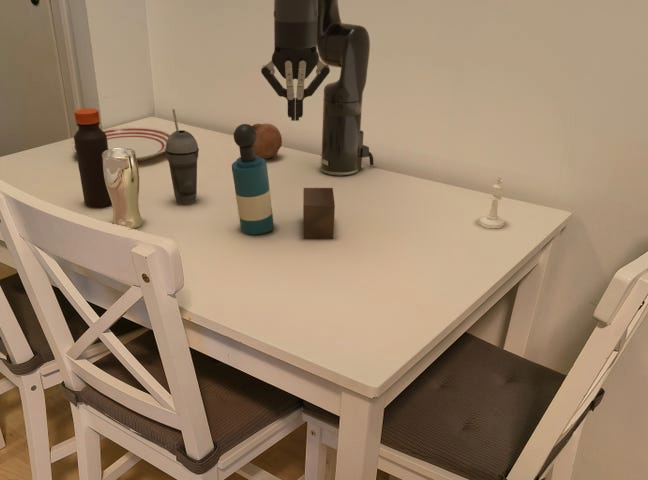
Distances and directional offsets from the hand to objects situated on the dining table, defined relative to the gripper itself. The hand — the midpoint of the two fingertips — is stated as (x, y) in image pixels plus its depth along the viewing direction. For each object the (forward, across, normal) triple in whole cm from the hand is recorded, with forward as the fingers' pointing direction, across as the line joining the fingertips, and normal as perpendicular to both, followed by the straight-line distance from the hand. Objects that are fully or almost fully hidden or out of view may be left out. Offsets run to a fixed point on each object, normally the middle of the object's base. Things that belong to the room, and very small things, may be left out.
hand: (295, 119), depth 129 cm
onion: (+22, +8, -48) cm, 54 cm away
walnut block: (+22, -5, 0) cm, 22 cm away
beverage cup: (+22, +24, -16) cm, 36 cm away
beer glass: (+22, +35, -2) cm, 41 cm away
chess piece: (+22, -41, -3) cm, 47 cm away
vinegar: (+22, +44, -14) cm, 51 cm away
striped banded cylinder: (+19, +2, 0) cm, 19 cm away
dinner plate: (+22, +46, -52) cm, 73 cm away
